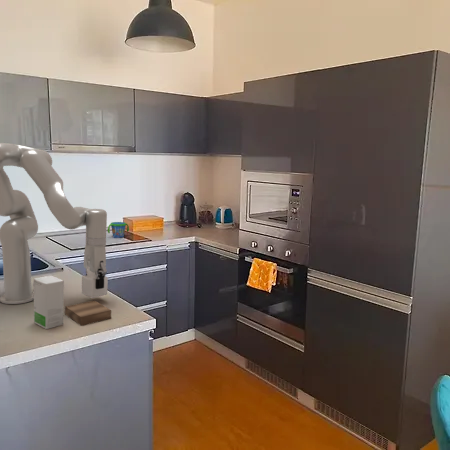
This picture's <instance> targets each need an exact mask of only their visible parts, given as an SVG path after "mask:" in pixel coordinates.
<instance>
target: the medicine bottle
mask: <svg viewBox="0 0 450 450" xmlns="http://www.w3.org/2000/svg"><path fill="white" fill-rule="evenodd" d="M100 270H101V269H98V271H100ZM86 274H87V275H86ZM86 274H85V275H82V276H81V294H82V295H85V296H86V297H88V298H92V299H94V298H98V297H103V296H106V295H108V288H109V287H108V285H109V284H108V279H109V278H108V276H106V275H105V278H104V288H102V289H96V279H97V276H96V272H95V273H93V272H91V271H90V267H89V266H87V273H86ZM99 275H100V273H99Z"/></svg>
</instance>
